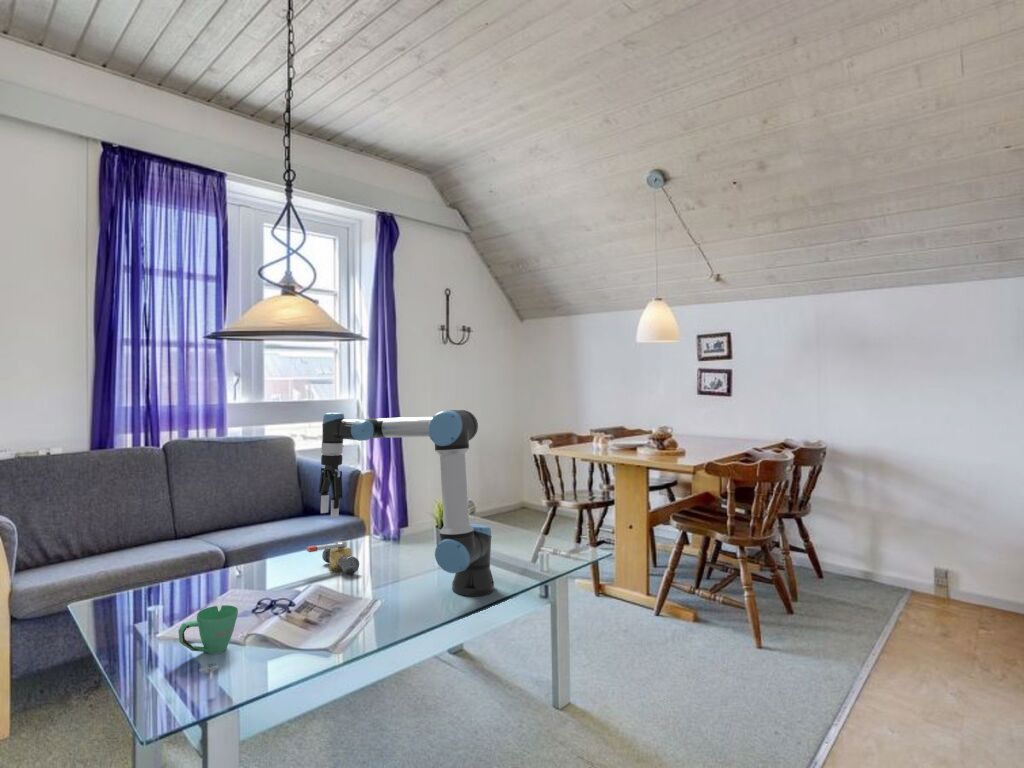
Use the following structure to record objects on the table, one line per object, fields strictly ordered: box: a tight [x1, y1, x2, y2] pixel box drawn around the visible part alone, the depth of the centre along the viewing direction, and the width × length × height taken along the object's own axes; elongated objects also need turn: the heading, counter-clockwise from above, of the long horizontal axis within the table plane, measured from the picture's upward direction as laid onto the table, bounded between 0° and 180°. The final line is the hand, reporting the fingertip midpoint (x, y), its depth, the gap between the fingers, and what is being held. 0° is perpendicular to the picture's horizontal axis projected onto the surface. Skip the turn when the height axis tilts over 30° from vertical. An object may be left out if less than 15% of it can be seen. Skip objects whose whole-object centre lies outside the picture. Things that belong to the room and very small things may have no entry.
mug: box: [178, 604, 239, 655], centre depth 151 cm, size 15×10×10 cm
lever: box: [306, 540, 348, 553], centre depth 222 cm, size 15×4×2 cm, turn 131°
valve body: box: [321, 546, 360, 576], centre depth 225 cm, size 20×8×8 cm, turn 41°
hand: (329, 514), depth 214 cm, fingers open, 9 cm apart
